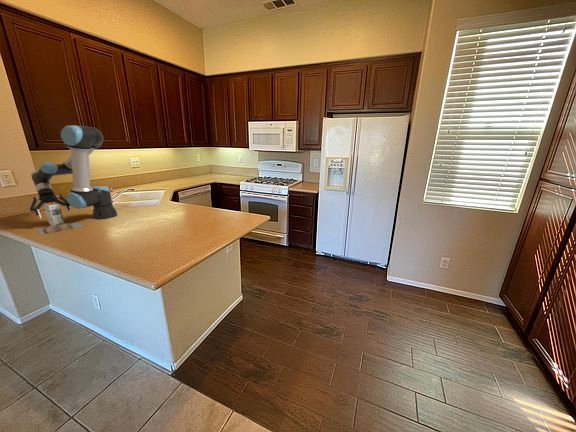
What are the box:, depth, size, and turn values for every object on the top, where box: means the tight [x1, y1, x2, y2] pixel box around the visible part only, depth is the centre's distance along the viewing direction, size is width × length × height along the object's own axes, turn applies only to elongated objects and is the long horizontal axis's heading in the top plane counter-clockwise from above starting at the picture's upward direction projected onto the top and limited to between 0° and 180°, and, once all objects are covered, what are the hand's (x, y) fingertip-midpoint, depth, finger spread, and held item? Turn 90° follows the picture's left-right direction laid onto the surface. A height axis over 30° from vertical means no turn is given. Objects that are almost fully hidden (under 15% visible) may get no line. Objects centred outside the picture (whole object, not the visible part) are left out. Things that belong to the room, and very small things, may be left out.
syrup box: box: [43, 202, 65, 226], centre depth 158 cm, size 6×6×14 cm
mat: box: [37, 221, 84, 236], centre depth 154 cm, size 20×14×1 cm
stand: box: [43, 222, 74, 234], centre depth 152 cm, size 12×12×1 cm
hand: (55, 216), depth 157 cm, fingers open, 13 cm apart
